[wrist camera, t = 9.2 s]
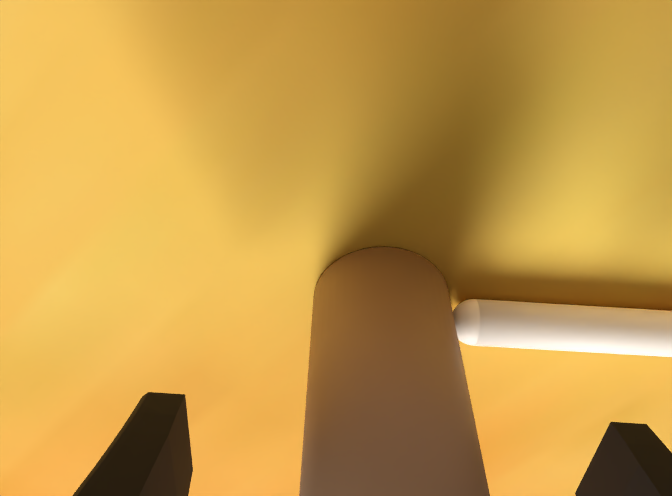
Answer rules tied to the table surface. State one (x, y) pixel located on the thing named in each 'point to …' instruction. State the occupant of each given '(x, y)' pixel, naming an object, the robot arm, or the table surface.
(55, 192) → the table surface
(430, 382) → the tethered block
